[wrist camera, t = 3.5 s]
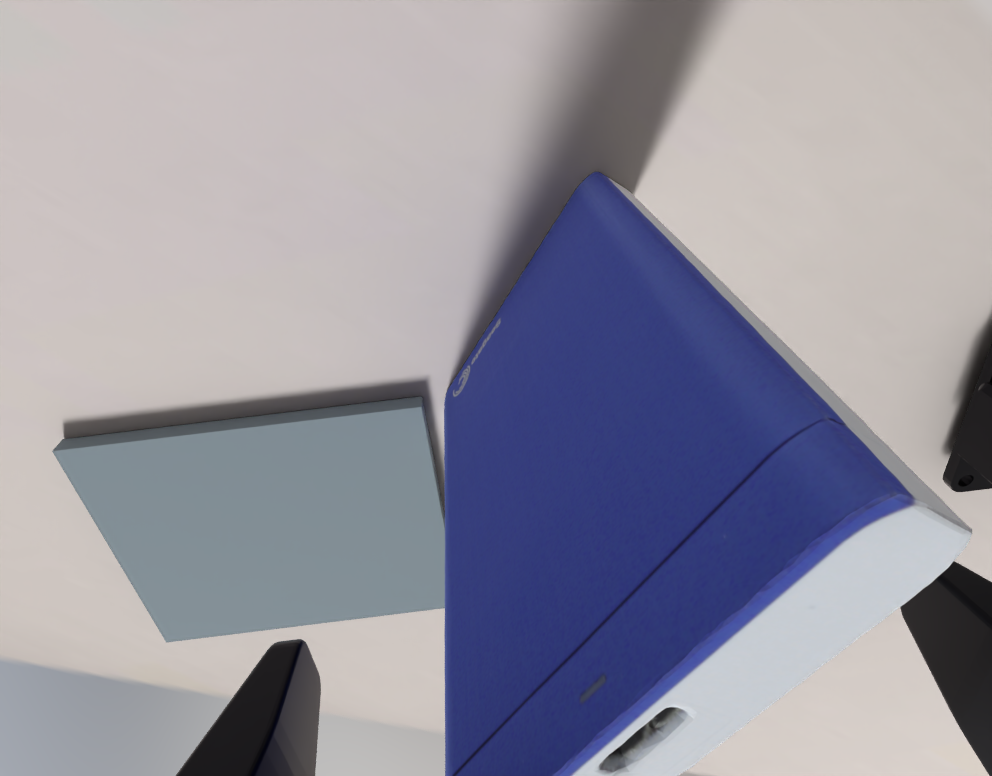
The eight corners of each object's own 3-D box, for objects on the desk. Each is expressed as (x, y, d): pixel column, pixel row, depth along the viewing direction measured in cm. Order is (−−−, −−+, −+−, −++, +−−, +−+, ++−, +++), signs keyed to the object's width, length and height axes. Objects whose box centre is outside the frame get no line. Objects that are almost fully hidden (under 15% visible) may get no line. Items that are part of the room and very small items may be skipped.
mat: (421, 396, 19) (421, 407, 18) (459, 593, 24) (459, 606, 23) (62, 439, 19) (52, 451, 18) (172, 628, 24) (166, 642, 23)
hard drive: (437, 403, 19) (429, 885, 9) (589, 164, 16) (884, 478, 5) (481, 422, 20) (523, 901, 9) (637, 195, 16) (996, 539, 6)
